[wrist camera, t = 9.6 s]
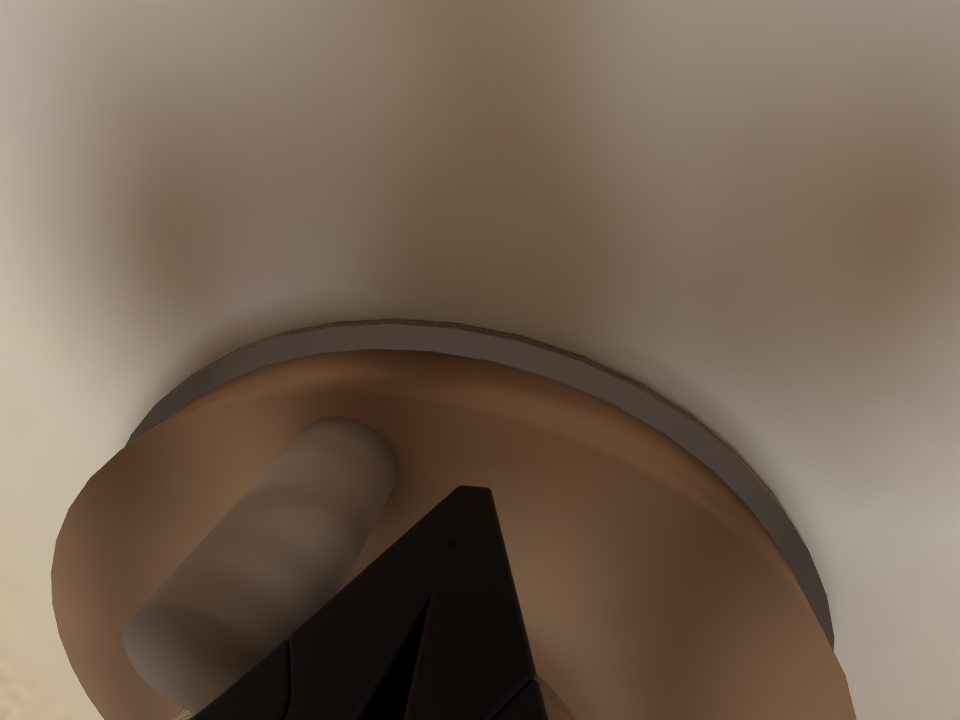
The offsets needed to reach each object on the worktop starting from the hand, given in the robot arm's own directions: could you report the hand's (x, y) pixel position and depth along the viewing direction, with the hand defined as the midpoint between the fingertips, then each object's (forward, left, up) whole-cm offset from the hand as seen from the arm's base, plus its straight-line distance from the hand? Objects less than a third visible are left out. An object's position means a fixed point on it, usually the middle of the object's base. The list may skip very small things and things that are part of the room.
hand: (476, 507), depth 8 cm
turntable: (+2, +9, -3) cm, 9 cm away
